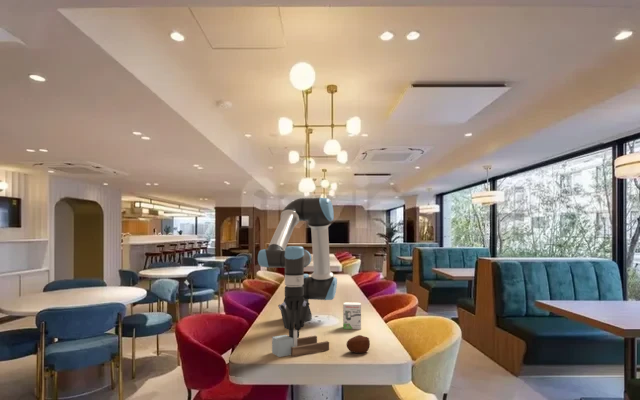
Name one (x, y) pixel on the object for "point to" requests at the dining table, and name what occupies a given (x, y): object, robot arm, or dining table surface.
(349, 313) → the ink box
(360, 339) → the potato
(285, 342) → the block
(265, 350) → the dining table surface
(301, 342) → the pair of wooden slats
